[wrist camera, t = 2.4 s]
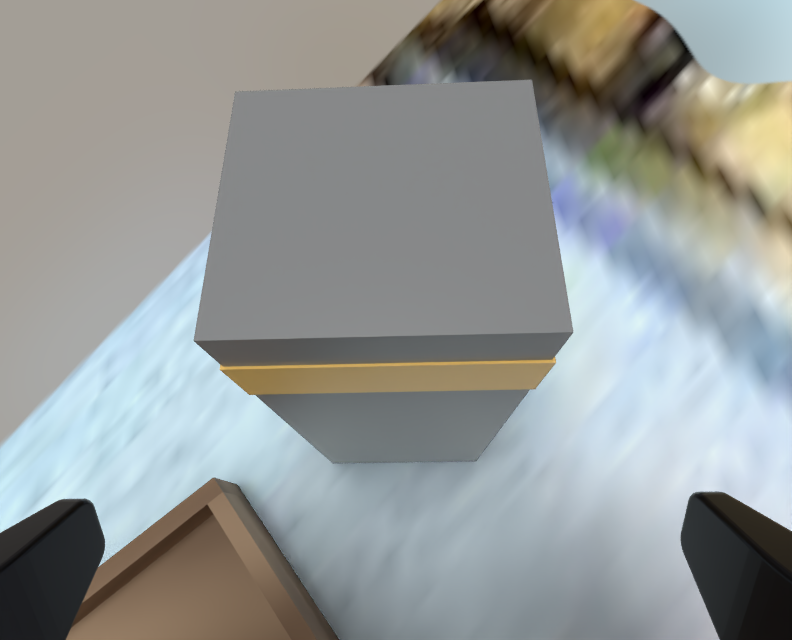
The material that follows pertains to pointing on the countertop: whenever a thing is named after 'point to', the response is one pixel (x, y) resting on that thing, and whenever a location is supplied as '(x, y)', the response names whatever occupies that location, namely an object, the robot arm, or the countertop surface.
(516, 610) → the countertop surface
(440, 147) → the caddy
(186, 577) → the tray
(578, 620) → the countertop surface
